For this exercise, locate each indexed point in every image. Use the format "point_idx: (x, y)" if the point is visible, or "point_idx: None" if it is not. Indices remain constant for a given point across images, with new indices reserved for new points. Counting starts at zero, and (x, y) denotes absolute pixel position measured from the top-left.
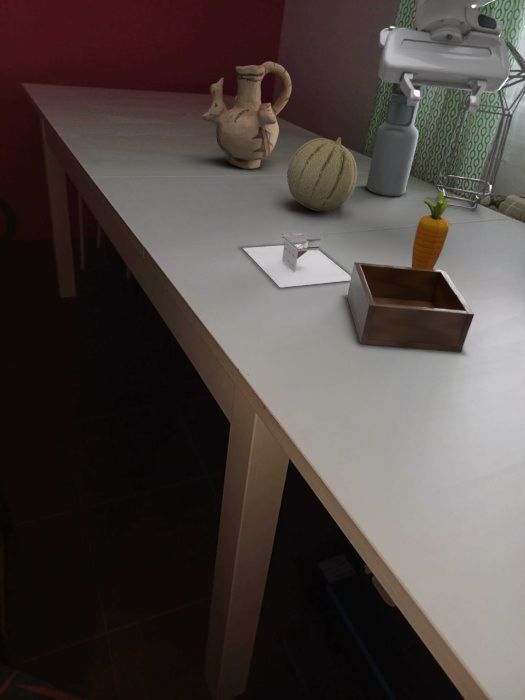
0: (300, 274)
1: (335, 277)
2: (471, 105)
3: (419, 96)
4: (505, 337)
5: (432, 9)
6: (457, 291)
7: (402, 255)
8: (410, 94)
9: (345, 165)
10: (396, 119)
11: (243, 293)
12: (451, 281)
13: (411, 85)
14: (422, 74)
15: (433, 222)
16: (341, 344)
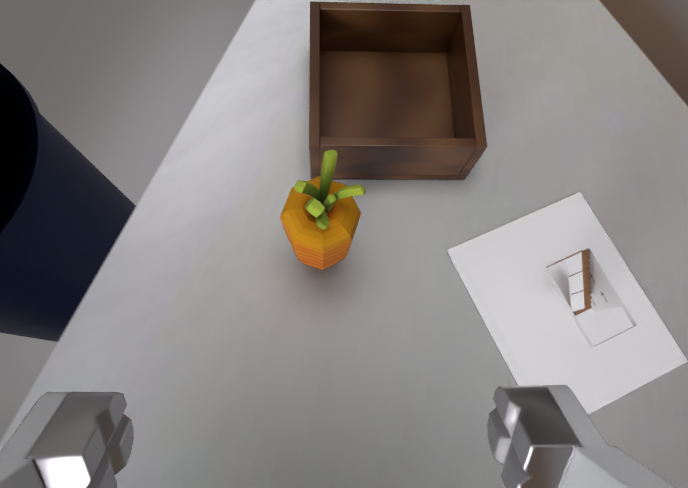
0: (551, 252)
1: (484, 254)
2: (107, 393)
3: (511, 400)
4: (223, 95)
5: None
6: (312, 66)
7: (318, 418)
8: (583, 408)
9: None
10: None
11: (633, 162)
12: (310, 100)
13: (625, 471)
14: None
15: (332, 183)
16: (476, 49)
